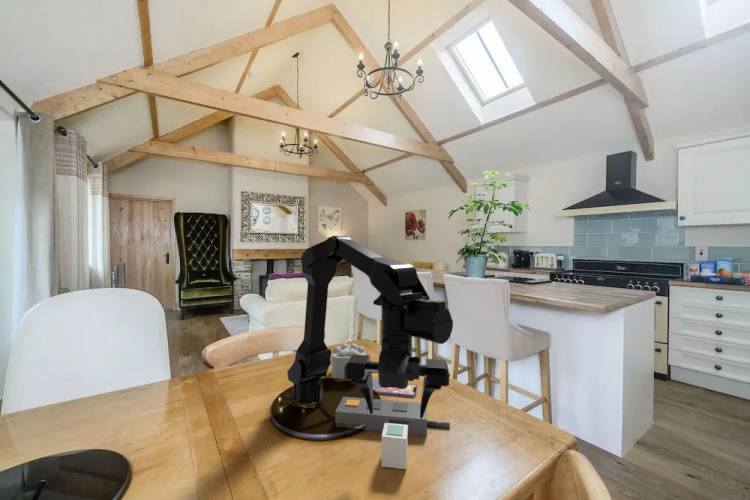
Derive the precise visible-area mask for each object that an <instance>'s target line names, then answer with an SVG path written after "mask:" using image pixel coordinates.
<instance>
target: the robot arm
mask: <svg viewBox="0 0 750 500" xmlns="http://www.w3.org/2000/svg"><path fill="white" fill-rule="evenodd" d="M343 261H345V262H346V263H348V264H349V265H350V266H352V267H354V268H355V269H357V270H359V271H360V272H362V273H363V274H364V275H366V276H367V277H368V278H369V282H370V285H372V287H374V288H375V290H376V291H378V293H380V295H379V296H378V297H376V298H375V299H374V300H373V301H372V304H373V305H375V306H380V307H381V321H380V322H381V324H380V325H381V327H380V328H381V340H380V341H381V342H380V343H381V346H380V347H381V349H380V353H379V356H378V361H371V356H370V355H367V354H365V355H352V356H351V357H350V358H349V360H348V361H347V363H346V364H345V368H344V378H345V379H348V380H351V381H352V382H351V383H352V384H353V385H357V386H358V387H359V388H360V390H362V391H361V393H362V394H363V396H364V397H363V398H365V400H366V402H367V405H368V408H369V411H370V414H373V409H374V399H375V398H374V394H373V382H372V381H373V374H374V373H375V374H378V375H377V377H378V381H379V385H380V386H381V387H383V388H387V387H393V388H398V389H405V388H406V387H407V386H408V384H409V382H414V381H415V380H416V381H417V380H420V377H423V380H422V382H423V384H422V388H421V389H422V390H421V398H420V403H421V405H420V418H423V415H424V412H425V409H426V407H427V408H428V403H429V400H430V398H431V396H432V395H433V393H434V392H435V391H439V390H441V389H442V387H448V386H450V372H449V371H450V370H449V365H448V363H447V362H446V360H445V359H436V358H435V359H434V358H426V359H425V364H421V363H420V357H418V356H413V337H414V338H417V339H421V340H424V341H427V342H432V343H437V344H439V345H443V344H445V343H446V342H448V340H449V339H450V337H451V335H452V332H453V328H454V320H453V319H452V314H451V312H450V311H449V309H447V307H446V303H447V302H446V301H445V300H440V299H439V300H432V299H431V300H430V298H431V297H430V296H429V294H428V292H427V290H426V288H425V287H424V285H423V284H422V282H421V279H420V278H419V277H418V276H419V275H418V273H417V269H416V267H415V266H414V265H412V264H410V263H407V262H403V261H401V260H396V259H391V258H386V257H383V256H381V255H379V254H377V252H374V251H372V250H370V249H368V248H367V247H364V246H363V245H362V244H360V243H358V242H356V241H354V240H352V238H351V237H349V236H346V235H331V236H329V237H328V238H326V239H324V241H321V242H319V243H316V244H314V245H312V246H310V247H307V248H306V249H305V251H303V252H302V254H301V261H300V262H301V272H302V275H303V276H304V278H305V280H306V282H307V289H306V290H307V291H306V305H305V317H304V328H303V329H304V330H303V331H304V332H303V340H302V342H301V343H300V345H299V346H298V348H297V350H295V351H296V352H295V357H294V362H293V363H292V365H291V366H290V367H289V369H288V370H287V372H286V373H287V380H288V381H290V382H291V383H292V384H293V401H294V400H297V402H299V403H302V404H303V403H312V402H319V401H320V400H321V399H322V397H323V398H324V383H323V382H322V378H325V377H327V375H328V370H329V368H330V366H332V360H331V359H332V350H331V349H329V348H328V346H327V344H326V343H325V333H326V331H325V330H326V319H327V318H326V317H327V309H328V308H327V306H328V296H329V295H328V293H329V285H330V283H331V281H332V280H333V279H334V277H335V276H336V273H337V268H338V264H340V263H342V262H343ZM322 400H323V399H322Z"/></svg>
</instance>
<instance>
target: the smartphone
mask: <svg viewBox="0 0 750 500" xmlns="http://www.w3.org/2000/svg"><path fill="white" fill-rule="evenodd" d="M372 382H373V390H375V391H376V392H377V393H378V394H377V395H381V396H382V395H383V396H392V397H401V398H410V399H411V398H416V395H417V390H418V386H417V385H416V384H412V383H408V386H407V387H406V388H405V389H398V388H393V387H387V388H383V387H381V386H380V385H379V380H378V381H377V380H372Z"/></svg>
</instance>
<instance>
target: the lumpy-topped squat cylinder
mask: <svg viewBox="0 0 750 500" xmlns="http://www.w3.org/2000/svg"><path fill="white" fill-rule="evenodd" d="M352 355H366V350H365V347H364V346H362V345H357V344H356V343H354V342H352V343H351V344H348V343H345V342H344V343H342V345H339V346H338V345H337V346H334V347H333V349H332V350H331V379H332V378H342V379H345V378H344V368H345V364H346V363H347V361H348V360H349V358H350V357H351V356H352Z"/></svg>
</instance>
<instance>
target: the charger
mask: <svg viewBox="0 0 750 500" xmlns="http://www.w3.org/2000/svg"><path fill="white" fill-rule="evenodd" d="M408 435H409V434H408V425H403V424H393V423H385V424H384V428H383V432H382V433H381V467H382V468H383V467H384V468H391V469H392V468H393V469H399V470H407V467H408V464H407V463H408V452H409V450H408V447H409V446H408V445H409V444H408V443H409V439H408V438H409V436H408Z"/></svg>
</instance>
